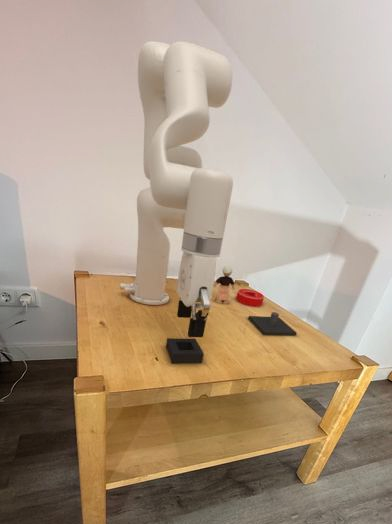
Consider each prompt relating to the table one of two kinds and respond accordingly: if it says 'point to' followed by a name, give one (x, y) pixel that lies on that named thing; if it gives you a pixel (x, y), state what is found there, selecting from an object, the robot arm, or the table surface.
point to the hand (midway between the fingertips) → (189, 326)
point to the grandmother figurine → (224, 285)
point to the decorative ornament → (249, 297)
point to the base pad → (272, 325)
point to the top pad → (184, 350)
